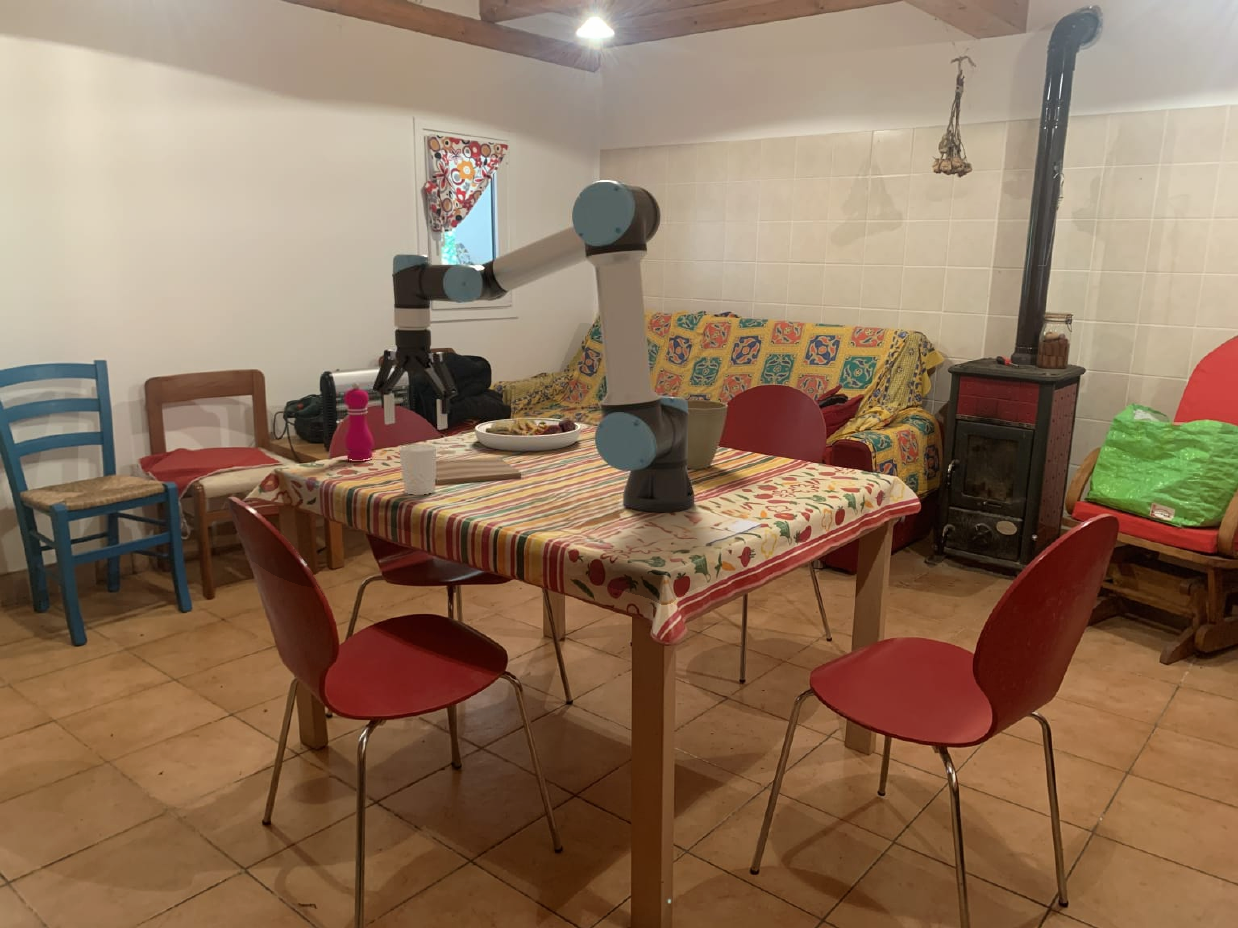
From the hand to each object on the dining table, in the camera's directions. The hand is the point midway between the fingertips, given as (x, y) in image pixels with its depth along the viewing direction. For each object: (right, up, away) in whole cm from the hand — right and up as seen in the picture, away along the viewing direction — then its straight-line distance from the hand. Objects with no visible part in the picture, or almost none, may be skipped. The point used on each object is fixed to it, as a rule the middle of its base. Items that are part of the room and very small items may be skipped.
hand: (415, 426), depth 195 cm
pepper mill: (-23, -7, +36) cm, 44 cm away
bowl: (+18, -3, +61) cm, 64 cm away
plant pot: (+64, -9, +31) cm, 72 cm away
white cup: (0, -15, +3) cm, 15 cm away
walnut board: (+8, -10, +22) cm, 26 cm away
